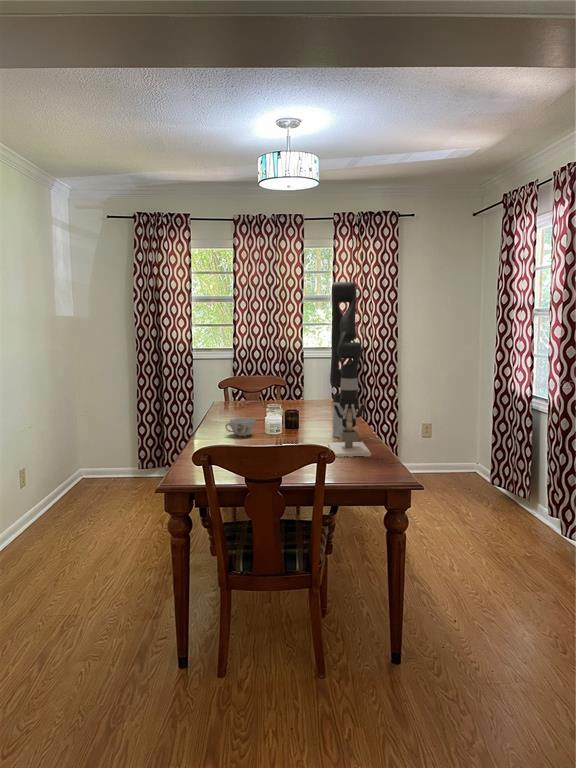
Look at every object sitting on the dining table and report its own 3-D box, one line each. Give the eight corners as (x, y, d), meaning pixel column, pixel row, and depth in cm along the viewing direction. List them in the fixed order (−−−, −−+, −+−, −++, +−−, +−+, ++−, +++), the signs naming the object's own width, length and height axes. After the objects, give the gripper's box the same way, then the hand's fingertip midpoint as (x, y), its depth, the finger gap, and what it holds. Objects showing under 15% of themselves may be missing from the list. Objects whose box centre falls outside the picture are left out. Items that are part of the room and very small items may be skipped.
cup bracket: (327, 445, 267) (327, 426, 266) (362, 445, 268) (362, 425, 267) (333, 457, 247) (333, 436, 246) (371, 456, 248) (371, 435, 247)
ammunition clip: (275, 469, 230) (275, 439, 228) (273, 467, 232) (273, 438, 230) (299, 465, 235) (299, 436, 233) (297, 464, 236) (297, 435, 235)
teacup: (251, 431, 297) (251, 416, 296) (258, 437, 285) (258, 420, 284) (222, 434, 292) (222, 418, 291) (228, 439, 280) (228, 423, 279)
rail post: (344, 434, 258) (344, 407, 256) (351, 434, 258) (352, 407, 256) (345, 435, 255) (346, 408, 253) (353, 435, 255) (353, 408, 253)
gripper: (363, 386, 258) (363, 425, 260) (331, 387, 257) (331, 425, 259) (366, 389, 250) (366, 428, 253) (334, 389, 250) (334, 429, 252)
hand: (348, 426), depth 256 cm, fingers closed on rail post, 3 cm apart
